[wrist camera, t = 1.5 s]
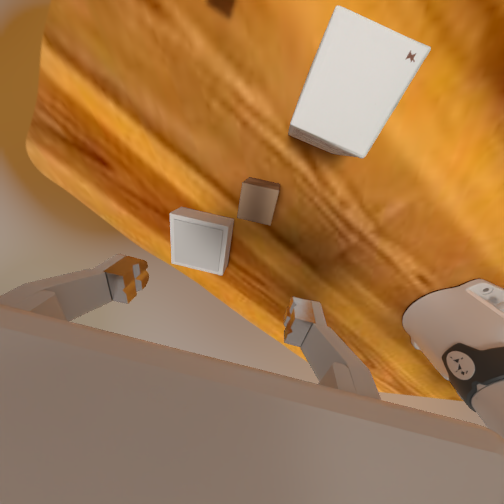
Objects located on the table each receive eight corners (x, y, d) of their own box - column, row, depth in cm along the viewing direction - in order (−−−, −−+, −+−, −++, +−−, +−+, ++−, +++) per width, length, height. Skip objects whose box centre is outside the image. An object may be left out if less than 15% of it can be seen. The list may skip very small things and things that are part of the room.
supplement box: (312, 69, 23) (338, -5, 12) (366, 94, 23) (439, 45, 12) (285, 135, 27) (287, 124, 16) (332, 156, 27) (366, 160, 16)
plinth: (234, 218, 34) (228, 227, 30) (227, 264, 39) (221, 276, 35) (181, 206, 34) (168, 213, 30) (181, 253, 39) (170, 264, 35)
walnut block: (280, 183, 30) (279, 190, 25) (272, 213, 32) (270, 225, 27) (249, 177, 30) (242, 182, 25) (244, 207, 33) (237, 217, 27)
